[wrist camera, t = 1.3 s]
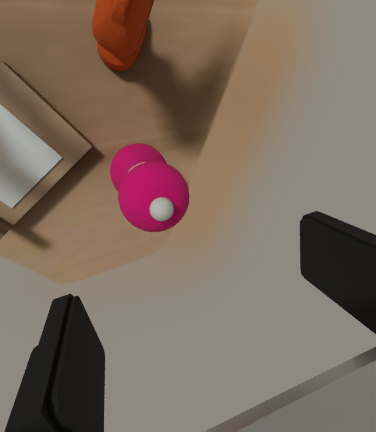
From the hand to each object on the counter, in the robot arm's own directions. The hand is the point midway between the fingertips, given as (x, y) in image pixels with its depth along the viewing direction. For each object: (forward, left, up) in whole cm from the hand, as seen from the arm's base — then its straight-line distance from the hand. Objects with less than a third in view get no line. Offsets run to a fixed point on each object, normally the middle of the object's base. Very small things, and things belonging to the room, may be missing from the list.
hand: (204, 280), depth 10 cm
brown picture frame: (+10, -12, -28) cm, 32 cm away
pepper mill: (0, 0, -29) cm, 29 cm away
